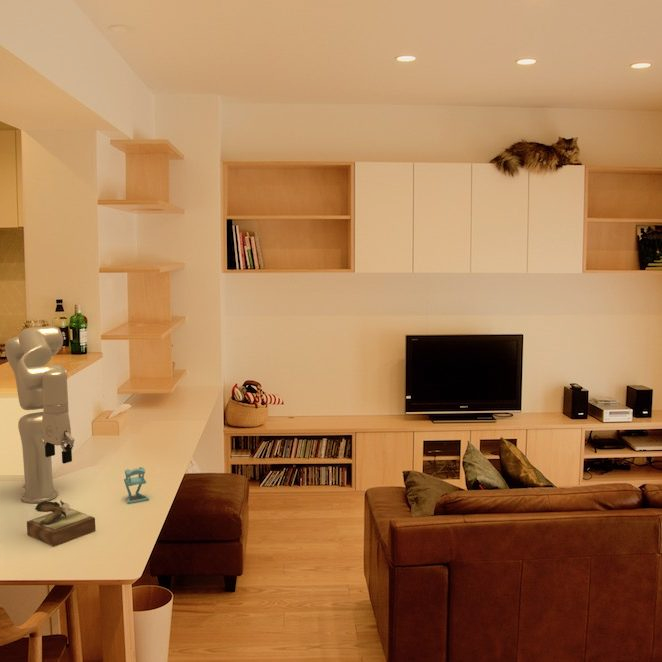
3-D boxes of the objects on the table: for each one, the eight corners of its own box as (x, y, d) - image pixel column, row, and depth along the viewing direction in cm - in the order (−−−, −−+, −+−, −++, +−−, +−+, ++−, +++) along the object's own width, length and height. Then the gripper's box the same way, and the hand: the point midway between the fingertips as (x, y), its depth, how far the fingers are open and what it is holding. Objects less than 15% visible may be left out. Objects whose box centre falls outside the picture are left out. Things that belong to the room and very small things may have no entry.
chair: (143, 493, 275) (142, 462, 273) (149, 500, 267) (147, 468, 266) (122, 497, 271) (120, 465, 270) (127, 504, 264) (126, 471, 262)
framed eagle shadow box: (27, 534, 238) (26, 520, 237) (68, 520, 249) (68, 506, 249) (53, 546, 228) (53, 531, 228) (95, 530, 240) (94, 516, 240)
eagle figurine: (56, 509, 243) (31, 512, 236) (65, 493, 241) (40, 496, 234) (66, 526, 239) (41, 530, 232) (75, 510, 237) (50, 513, 230)
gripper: (30, 406, 240) (33, 456, 242) (60, 415, 229) (63, 468, 232) (51, 401, 246) (54, 450, 248) (81, 410, 235) (84, 461, 238)
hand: (58, 459), depth 240 cm, fingers open, 9 cm apart
